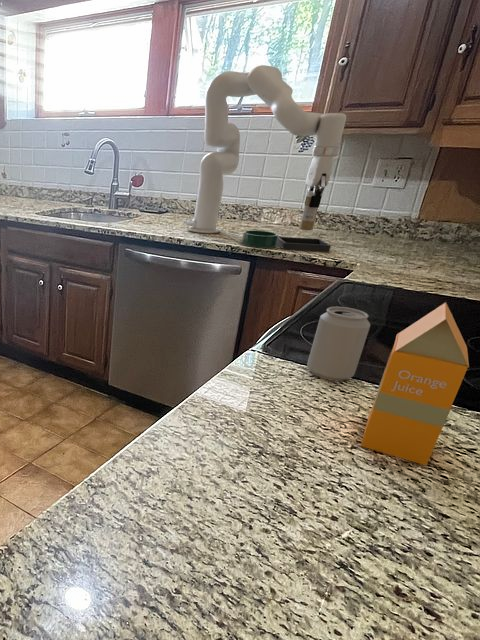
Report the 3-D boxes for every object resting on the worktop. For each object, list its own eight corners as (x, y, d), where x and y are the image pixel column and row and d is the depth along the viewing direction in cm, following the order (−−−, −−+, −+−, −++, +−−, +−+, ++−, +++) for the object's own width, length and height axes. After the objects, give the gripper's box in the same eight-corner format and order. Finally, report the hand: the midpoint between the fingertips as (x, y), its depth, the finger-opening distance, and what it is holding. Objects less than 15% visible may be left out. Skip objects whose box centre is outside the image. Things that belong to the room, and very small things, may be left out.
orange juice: (359, 445, 74) (406, 311, 65) (366, 420, 80) (409, 295, 72) (428, 466, 69) (488, 325, 61) (429, 438, 76) (484, 306, 67)
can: (336, 365, 99) (354, 304, 94) (362, 382, 92) (384, 318, 87) (297, 365, 99) (313, 304, 94) (320, 383, 92) (340, 318, 87)
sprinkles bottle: (314, 229, 193) (324, 191, 187) (310, 231, 190) (320, 192, 184) (301, 227, 196) (310, 190, 190) (296, 229, 193) (306, 191, 187)
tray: (283, 249, 192) (284, 242, 191) (275, 243, 203) (276, 236, 202) (328, 252, 189) (330, 245, 188) (318, 245, 199) (320, 238, 198)
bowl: (244, 247, 195) (247, 235, 193) (239, 241, 205) (241, 229, 203) (278, 249, 192) (281, 236, 190) (271, 243, 203) (273, 231, 201)
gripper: (306, 151, 190) (293, 202, 198) (320, 153, 175) (306, 209, 183) (328, 151, 189) (315, 203, 196) (345, 153, 174) (330, 210, 181)
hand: (311, 205), depth 189 cm, fingers closed on sprinkles bottle, 4 cm apart
